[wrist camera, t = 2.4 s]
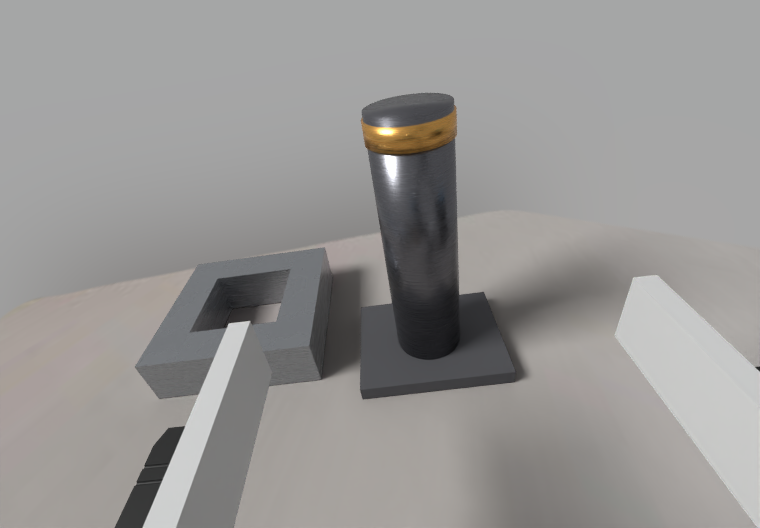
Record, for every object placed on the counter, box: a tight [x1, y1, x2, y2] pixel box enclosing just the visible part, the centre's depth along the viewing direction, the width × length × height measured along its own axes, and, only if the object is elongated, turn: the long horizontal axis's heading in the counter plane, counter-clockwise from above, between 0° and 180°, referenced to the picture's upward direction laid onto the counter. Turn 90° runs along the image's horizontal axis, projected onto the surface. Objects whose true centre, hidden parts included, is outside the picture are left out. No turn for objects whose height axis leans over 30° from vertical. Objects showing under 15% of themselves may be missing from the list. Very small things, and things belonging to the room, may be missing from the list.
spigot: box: [361, 93, 460, 360], centre depth 23 cm, size 5×5×16 cm
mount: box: [360, 292, 516, 399], centre depth 28 cm, size 10×8×1 cm
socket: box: [135, 248, 333, 399], centre depth 31 cm, size 12×12×4 cm
